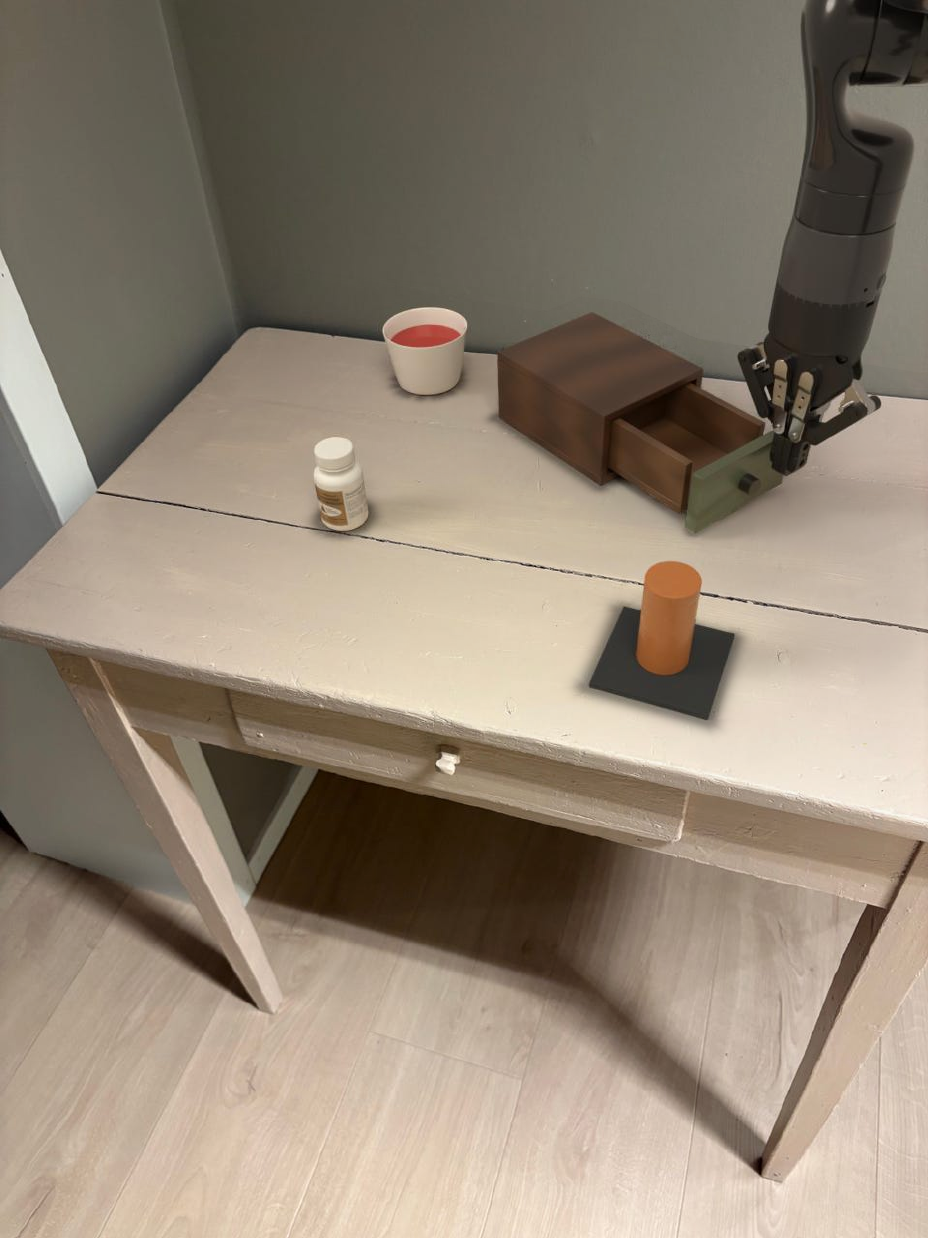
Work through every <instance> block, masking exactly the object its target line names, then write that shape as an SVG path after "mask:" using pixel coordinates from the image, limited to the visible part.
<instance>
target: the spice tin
mask: <svg viewBox="0 0 928 1238" xmlns="http://www.w3.org/2000/svg"><path fill="white" fill-rule="evenodd" d="M702 585H703V581H702V577H701V574H700V573H699V572H698V570H696V569H695V568H694V567H693V566H691V565H689V564H688V563H684V562H681V561H676V560H665V561H660V562H657V563H655V564H653V565H651V566H650V567H649V568H648V569H647V570H646V572H645V574H644V580H643V589H642V596H641V597H642V598H641V608H640V610H641V615H640V624H639V633H638V642H637V651H636V657H637V660H638V662H639V664H640V665H641V666H642V667H643V668H644V669H646V670H647V671H649V672H651V673H654V674H658V675H673V674H676V673H678V672H680V671H682V670H683V669H684V668H685V667H686V666H687V664H688V662H689V656H690V650H691V644H692V639H693V633H694V627H695V624H696V619H697V615H698V608H699V603H700V596H701V591H702Z"/></svg>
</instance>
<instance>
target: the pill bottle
mask: <svg viewBox="0 0 928 1238" xmlns="http://www.w3.org/2000/svg"><path fill="white" fill-rule="evenodd" d="M313 453H314V460H315V463H316V467H314V470H313V476H312V477H313V482H314V488H315V493H316V498H317V503H318V509H319V512H320V518H321V522H322V524H323V525H324V526H325V527H327V528H329V529H331V530H333V531H336V532H337V531H339V532H347V531H352V530H355V529H357V528H359V527H361V526H362V525H363V524H364V523H365V522H367V520H368V518H369V506H368V505H369V504H368V497H367V491H366V485H365V478H364V472H363V468H362V466H361V464H360V462H359V461H357V460H356V453H355V448H354V443H352V441H351V440H350V439H347V438H346V437H339V436H334V437H333V436H332V437H327V438H325V439H322V440H320V441H319V442H318V443H316V445H315V446H314V449H313Z"/></svg>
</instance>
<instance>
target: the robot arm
mask: <svg viewBox="0 0 928 1238" xmlns="http://www.w3.org/2000/svg"><path fill="white" fill-rule="evenodd" d="M799 25H800V27H799V28H800V29H799V30H800V31H799V33H800V50H801V51H800V52H801V60H802V61H801V62H802V70H803V81H804V90H805V91H804V93H805V109H806V110H805V111H806V114H805V116H806V120H805V121H806V123H805V126H806V128H805V139H804V141H805V143H804V152H803V158H802V164H801V170H800V177H799V182H798V187H797V191H796V197H795V203H794V207H793V211H792V215H791V219H790V222H789V226H788V228H787V231H786V234H785V237H784V241H783V245H782V249H781V255H780V260H779V266H778V271H777V276H776V279H775V280H776V281H775V286H774V292H773V297H772V302H771V306H770V311H769V317H768V322H767V329H768V333H767V334H766V336H765V337H764V339H763V341H759V342H757V343H755V344H753V345H751V346H749V347H747V348H745V349H743V350H740V351H739V352H738V353H737V357H736V358H737V362H738V364H739V366H740V369H741V372H742V375H743V377H744V380H745V383H746V385H747V386H746V387H747V388H748V391H749V394H750V397H751V399H752V402H753V405H754V408H755V410H756V413H757V415H758V417H760V418H761V419H768V420H769V421H770V423H771V424H772V425H771V426H772V430H774V436H773V441H772V446H771V450H770V461H772V466H771V468H772V469H773V470H775V471H777V472H779V473H780V474H782V475H784V476H783V477H788V476H790V475H792V474H794V473H796V472H798V471H799V470H801V469H802V468H804V467H805V466H806V465H807V464H808V463H807V462H808V458H809V455H810V450H811V447H812V446H819V445H820V444H821V443H823V442H825V441H826V440H828V439H830V438H832V437H834V436H836V435H837V434H839V433H841V432H842V431H844V430H846V429H848V428H849V427H851V426H853V425H854V424H856V423H858V422H859V421H861V420H863V419H865V418H866V417H868V416H870V415H871V414H873V413H875V412H877V411H878V410H880V409H881V407H882V400H881V398H880V397H879V396H877V395H876V394H871V395H869V394H868V392H867V391H866V389H865V387H864V386H863V384H862V382H861V381H860V380H861V379H862V377H863V374H864V373H863V372H864V370H863V365H862V354H863V351H864V349H865V347H866V345H867V344H868V341H869V338H870V335H871V331H872V327H873V324H874V320H875V317H876V313H877V309H878V306H879V303H880V299H881V295H882V291H883V288H884V285H885V283H886V279H887V272H888V269H889V267H890V263H891V262H890V261H891V258H892V253H893V248H894V240H895V231H896V225H897V221H898V218H899V215H900V210H901V206H902V203H903V199H904V196H905V192H906V188H907V185H908V181H909V177H910V174H911V169H912V166H913V161H914V156H915V150H916V143H915V139H914V136H913V134H912V133H911V131H910V130H909V129H907V128H906V127H905V126H902V125H901V124H899V123H897V122H893V121H891V120H887V119H884V118H881V117H878V116H873V115H870V114H866V113H863V112H861V111H859V110H856V109H854V108H853V107H852V106H851V105H850V104H849V103H848V101H847V92H848V88H851V87H855V86H856V87H879V88H880V87H881V88H882V87H886V88H889V87H892V88H893V87H894V88H899V87H900V88H922V87H928V0H804V1H803V5H802V9H801V16H800V24H799ZM766 390H767V391H766ZM767 392H768V395H769V398H768V395H767ZM842 394H844V397H843V399H842V400H841V401H840V403H839V406H838V409H837V411H838V412H839V413H838V414H837V415H835V416H833V417H832V418H830V419H829V420H827V421H825V422H824V421H823V418H824V416H825V413H826V412H827V410H829V408H830V406H831V404H832V401H834V400H835V399H837V398H838V397H839V396H841V395H842Z"/></svg>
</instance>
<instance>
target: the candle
mask: <svg viewBox="0 0 928 1238" xmlns="http://www.w3.org/2000/svg"><path fill="white" fill-rule="evenodd" d="M467 331H468V322H467V320H466V318H465V317H464V316H463V315H461V314H460V313H458V312H457V311H454V310H451V309H449V308H448V309H447V308H443V307H431V306H430V307H429V306H428V307H416V308H411V309H408V310H404V311H402V312H399V313H396V314H394V315H393V316H391V317H390V318H388V319H387V320H386V322H385V323H384V324H383V327H382V335H383V339H384V342H385V345H386V348H387V351H388V355H389V359H390V361H391V364H392V368H393V371H394V374H395V378H396V380H397V382H398V385H399V387H400V388H402V389H403V390H404V391H406V392H408V393H410V394H413V395H419V396H433V395H439V394H443V393H446V392H447V391H450V390H451V389H453V388H454V387H455V386H457V384H458V383H459V382H460V379H461V376H462V369H463V368H462V367H463V362H464V355H465V354H464V353H465V348H466V340H467V333H468V332H467Z"/></svg>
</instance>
